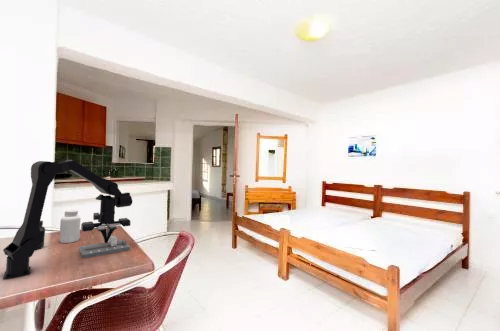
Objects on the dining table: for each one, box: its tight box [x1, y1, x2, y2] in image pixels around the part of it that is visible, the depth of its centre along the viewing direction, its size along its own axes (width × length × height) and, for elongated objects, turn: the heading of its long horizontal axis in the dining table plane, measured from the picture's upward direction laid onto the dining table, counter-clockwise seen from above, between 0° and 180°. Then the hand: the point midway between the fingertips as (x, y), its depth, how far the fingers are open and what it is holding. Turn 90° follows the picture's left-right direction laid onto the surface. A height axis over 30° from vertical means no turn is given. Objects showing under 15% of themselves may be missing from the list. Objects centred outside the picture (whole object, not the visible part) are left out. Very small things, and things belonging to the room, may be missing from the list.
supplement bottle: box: [35, 219, 46, 251], centre depth 105 cm, size 7×7×12 cm
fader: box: [108, 235, 118, 246], centre depth 109 cm, size 5×2×4 cm, turn 42°
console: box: [78, 239, 131, 259], centre depth 107 cm, size 12×18×3 cm, turn 132°
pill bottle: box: [58, 209, 81, 244], centre depth 117 cm, size 8×8×15 cm
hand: (105, 242), depth 108 cm, fingers closed
